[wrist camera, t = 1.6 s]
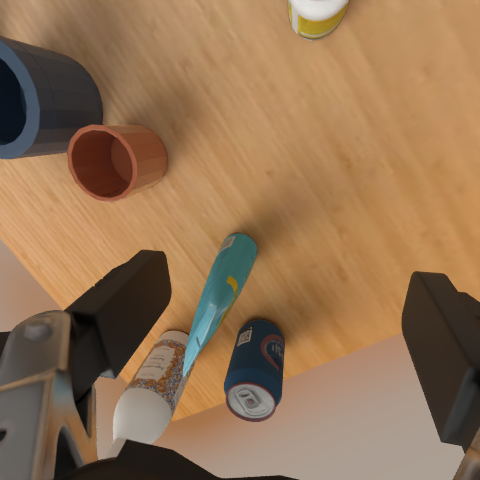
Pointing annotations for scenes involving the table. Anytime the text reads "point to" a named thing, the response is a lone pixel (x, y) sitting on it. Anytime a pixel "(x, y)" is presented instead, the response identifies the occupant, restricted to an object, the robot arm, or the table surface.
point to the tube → (220, 291)
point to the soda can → (255, 371)
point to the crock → (116, 160)
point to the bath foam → (151, 393)
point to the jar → (42, 100)
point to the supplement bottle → (316, 17)
